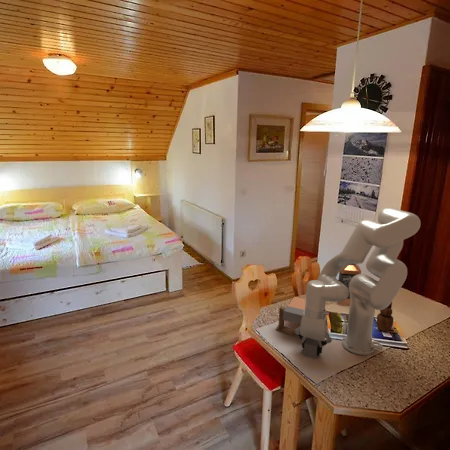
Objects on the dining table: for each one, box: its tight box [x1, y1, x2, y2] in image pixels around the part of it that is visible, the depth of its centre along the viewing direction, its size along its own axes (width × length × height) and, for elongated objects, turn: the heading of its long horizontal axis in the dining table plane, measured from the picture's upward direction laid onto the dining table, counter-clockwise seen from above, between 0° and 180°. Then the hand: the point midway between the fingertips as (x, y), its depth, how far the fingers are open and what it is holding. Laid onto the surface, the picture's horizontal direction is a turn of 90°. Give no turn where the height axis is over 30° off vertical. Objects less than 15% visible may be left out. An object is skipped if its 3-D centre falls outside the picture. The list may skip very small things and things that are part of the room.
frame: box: [275, 305, 307, 339], centre depth 143 cm, size 21×4×11 cm, turn 62°
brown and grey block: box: [283, 296, 306, 325], centre depth 146 cm, size 14×19×4 cm
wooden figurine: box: [376, 301, 394, 332], centre depth 146 cm, size 7×6×15 cm
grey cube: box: [303, 337, 319, 360], centre depth 131 cm, size 5×6×6 cm
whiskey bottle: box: [336, 264, 362, 307], centre depth 170 cm, size 10×10×32 cm
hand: (311, 351), depth 131 cm, fingers closed on grey cube, 5 cm apart
